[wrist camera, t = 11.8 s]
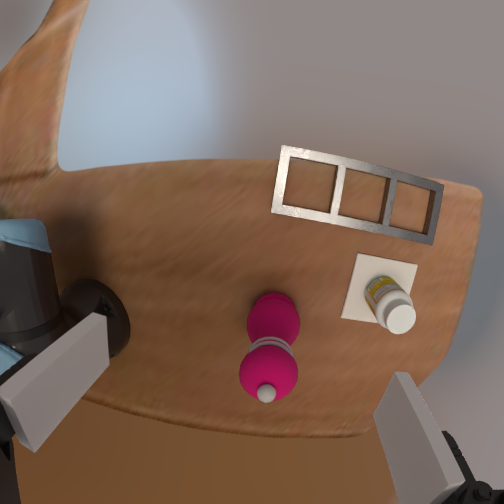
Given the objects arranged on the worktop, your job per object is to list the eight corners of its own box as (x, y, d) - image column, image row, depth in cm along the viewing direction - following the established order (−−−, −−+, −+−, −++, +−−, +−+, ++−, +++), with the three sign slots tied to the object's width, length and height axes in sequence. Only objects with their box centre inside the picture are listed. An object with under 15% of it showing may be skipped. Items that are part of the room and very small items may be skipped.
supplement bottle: (367, 272, 41) (387, 296, 32) (400, 276, 40) (426, 300, 31) (359, 306, 42) (376, 337, 33) (391, 309, 42) (413, 339, 32)
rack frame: (271, 211, 41) (270, 212, 39) (282, 146, 39) (281, 145, 37) (427, 243, 39) (432, 245, 38) (438, 184, 37) (444, 185, 35)
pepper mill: (244, 324, 45) (218, 413, 26) (258, 282, 43) (237, 358, 24) (289, 337, 45) (289, 431, 26) (305, 296, 43) (318, 379, 24)
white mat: (340, 316, 43) (341, 317, 43) (356, 252, 41) (357, 253, 40) (397, 323, 43) (398, 325, 42) (416, 264, 40) (417, 265, 40)
